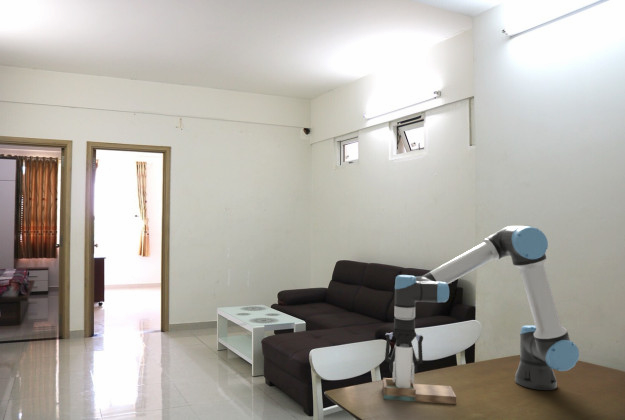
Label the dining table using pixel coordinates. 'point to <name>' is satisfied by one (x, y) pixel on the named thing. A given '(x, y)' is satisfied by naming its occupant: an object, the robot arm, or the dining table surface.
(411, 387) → the rail board
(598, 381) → the dining table surface
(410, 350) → the white cylinder
